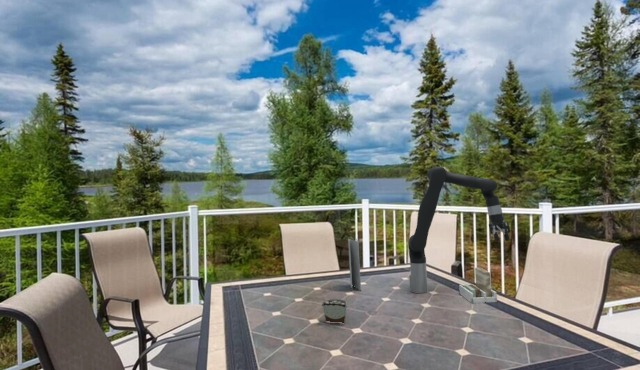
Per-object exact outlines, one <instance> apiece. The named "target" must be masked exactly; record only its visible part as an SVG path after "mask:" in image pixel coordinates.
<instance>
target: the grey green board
mask: <svg viewBox="0 0 640 370" xmlns="http://www.w3.org/2000/svg"><path fill="white" fill-rule="evenodd" d="M474 272H475V273H474V274H475V286H476V287H478V288H479V289H481V290H482V291H484V292H485V293H486V297H491V289H492V287H491V286H492V285H491V284H492V283H491V281H492V280H491V272H490V271H488V270H486V269H484V268H482V267H474Z"/></svg>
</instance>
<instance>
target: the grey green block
mask: <svg viewBox="0 0 640 370" xmlns="http://www.w3.org/2000/svg"><path fill="white" fill-rule="evenodd" d="M468 285H469V286H471V287H472V288H474V289H475V290H476V298H478V297H480V289H478V288H477V287H475V286H476V285H475V286H474V284H473V285H471V284H468Z"/></svg>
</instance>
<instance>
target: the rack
mask: <svg viewBox="0 0 640 370" xmlns="http://www.w3.org/2000/svg"><path fill="white" fill-rule="evenodd" d="M470 285H474V284H473V283H472V284H470ZM474 286H475V287H476V284H475V285H474ZM477 288H478V287H477ZM458 289H459V291H458V292H459V295H461V296H462V297H463V298H464V299H465V300H467V301H468V302H469V303H470V304H482V303H485V302H486V303H497V302H498V300H497V299H498V298H497V291H495V290H493V289H492V288H491V297H486V293H485V292H484V291H482V290H481V289H480V297H478V298H473V293H472V292H470V291H469V290H467V289H466V288H465V286H463V285H462V284H459V285H458ZM478 289H479V288H478Z"/></svg>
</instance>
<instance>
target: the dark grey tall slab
mask: <svg viewBox="0 0 640 370" xmlns="http://www.w3.org/2000/svg"><path fill="white" fill-rule="evenodd" d="M355 239H356V240H354V239H350V238H348V239H347V245H348V261H349V280H350V281H349V282H350V289H351V288H352V289H353V286H355V287H356V288H358V289H359V290H358V289H357V290H358V291H360V290H361V291H362V286H361V265H360V263H361V262H360V246H359V245H360V243H359V240H358V238H355ZM352 285H353V286H352ZM355 287H354V288H355ZM356 288H355V289H356Z"/></svg>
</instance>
